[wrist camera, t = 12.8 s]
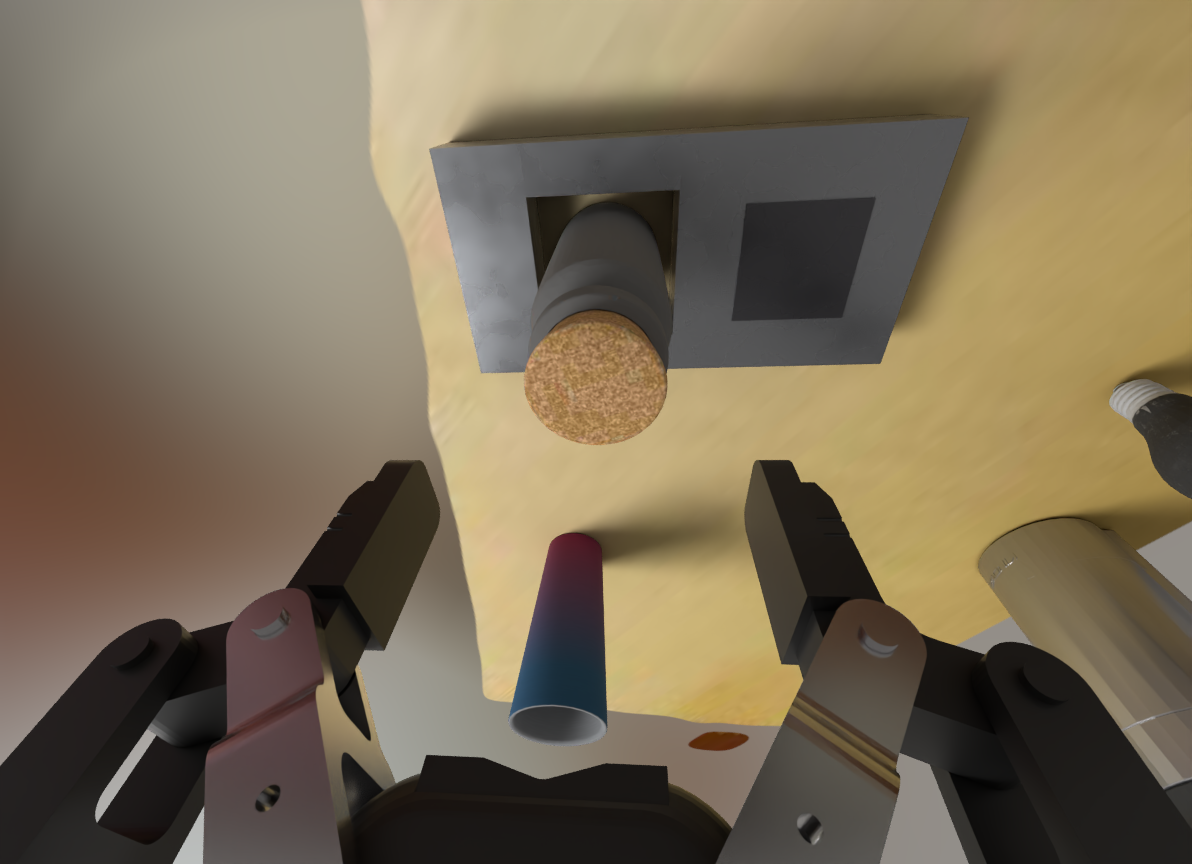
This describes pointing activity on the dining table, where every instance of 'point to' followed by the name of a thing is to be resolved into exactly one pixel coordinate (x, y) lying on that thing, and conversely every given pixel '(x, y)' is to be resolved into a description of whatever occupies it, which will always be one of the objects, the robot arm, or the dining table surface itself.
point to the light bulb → (1160, 427)
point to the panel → (717, 231)
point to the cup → (565, 650)
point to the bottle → (600, 330)
